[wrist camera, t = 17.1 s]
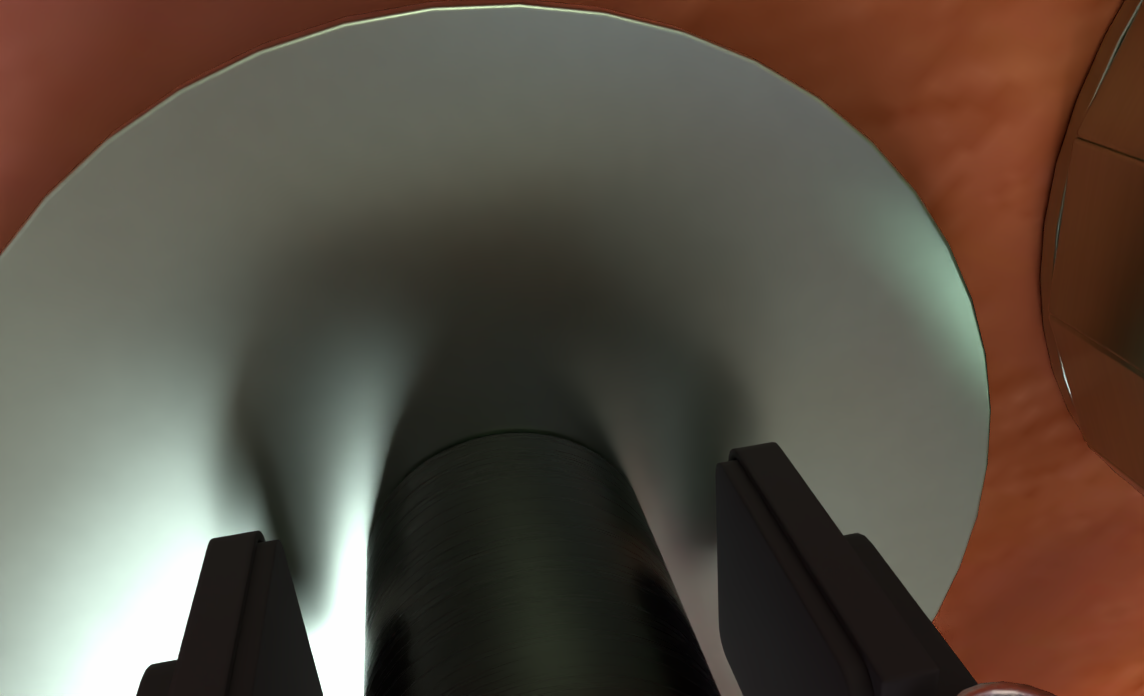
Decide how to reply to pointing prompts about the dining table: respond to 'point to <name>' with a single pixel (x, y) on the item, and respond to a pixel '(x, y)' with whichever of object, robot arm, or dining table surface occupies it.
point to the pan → (1102, 253)
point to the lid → (469, 355)
